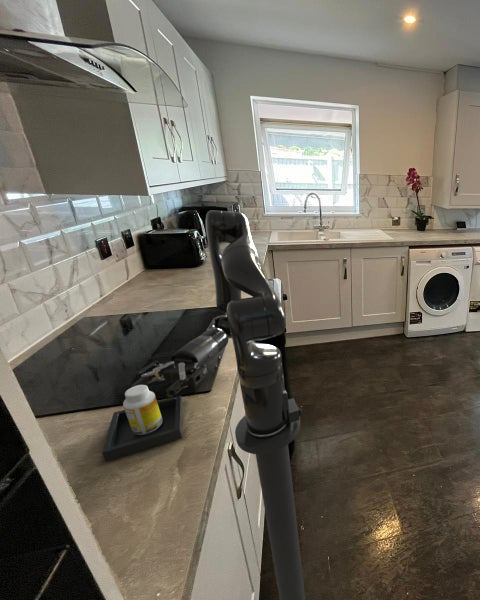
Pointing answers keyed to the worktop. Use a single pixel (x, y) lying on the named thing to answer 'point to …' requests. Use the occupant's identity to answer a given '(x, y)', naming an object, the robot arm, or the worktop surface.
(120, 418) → the shallow tray
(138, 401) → the supplement bottle
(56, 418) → the worktop surface
